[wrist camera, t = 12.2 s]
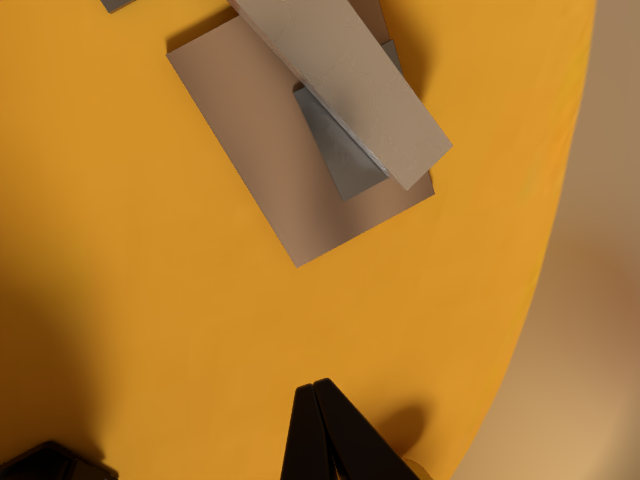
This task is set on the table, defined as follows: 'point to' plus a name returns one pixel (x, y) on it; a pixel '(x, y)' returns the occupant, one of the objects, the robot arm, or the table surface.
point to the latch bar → (351, 81)
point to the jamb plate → (115, 4)
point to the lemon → (418, 470)
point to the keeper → (342, 142)
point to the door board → (282, 138)
